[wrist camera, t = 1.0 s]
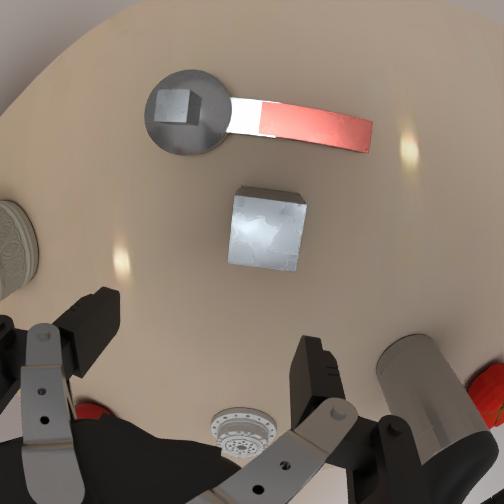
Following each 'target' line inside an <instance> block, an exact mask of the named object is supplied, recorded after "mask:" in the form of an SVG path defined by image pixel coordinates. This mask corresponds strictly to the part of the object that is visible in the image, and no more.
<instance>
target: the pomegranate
mask: <svg viewBox="0 0 504 504" xmlns="http://www.w3.org/2000/svg"><path fill="white" fill-rule="evenodd" d="M75 411H76V415H77V419H81V418H94V419H99V418H100V417H101V415H102V413H103V412H105V413H107V414H110V412H109V411H108V410H107V409H105V408H104V407H101V406H98V405H95V404H92V403H81V404H78V405H75ZM110 415H111V414H110Z"/></svg>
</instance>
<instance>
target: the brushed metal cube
mask: <svg viewBox="0 0 504 504" xmlns="http://www.w3.org/2000/svg"><path fill="white" fill-rule="evenodd" d="M306 208H307V205H306V203H305V201H304V200H303V198H302V197H301V195H300V194H298V193H291V192H284V191H277V190H270V189H263V188H255V187H247V186H242V187H241V188H240V189H239V191H238V192H237V193H236V194H235V197H234V206H233V216H232V225H231V235H230V244H229V254H228V263H232V264H239V265H246V266H254V267H261V268H269V269H276V270H284V271H292V272H295V270H296V265H297V260H298V254H299V249H300V243H301V238H302V232H303V226H304V220H305V214H306Z"/></svg>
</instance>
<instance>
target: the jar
mask: <svg viewBox="0 0 504 504" xmlns="http://www.w3.org/2000/svg"><path fill="white" fill-rule="evenodd" d="M37 265H38V247H37V241H36V237H35V234H34V231H33V228H32V226H31V223H30V221H29V219H28V218H27V216H26V214H25V213H24V212H23V210H22V209H21V208H20V207H19V206H18V205H16V204H15V203H13V202H10V201H0V302H1V301H2V300H4V299H5V298H6V297H8V296H9V295H10V294H12V293H13V292H15V291H16V290H19V289H21V288H22V287H23V286H25V285H26V284H27V283H28V282H29V281H30V279H32V277H33V276H34V274H35V272H36V269H37Z"/></svg>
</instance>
